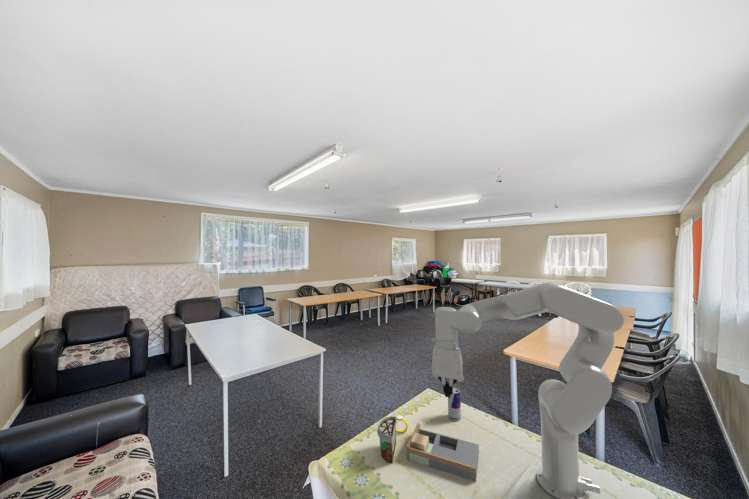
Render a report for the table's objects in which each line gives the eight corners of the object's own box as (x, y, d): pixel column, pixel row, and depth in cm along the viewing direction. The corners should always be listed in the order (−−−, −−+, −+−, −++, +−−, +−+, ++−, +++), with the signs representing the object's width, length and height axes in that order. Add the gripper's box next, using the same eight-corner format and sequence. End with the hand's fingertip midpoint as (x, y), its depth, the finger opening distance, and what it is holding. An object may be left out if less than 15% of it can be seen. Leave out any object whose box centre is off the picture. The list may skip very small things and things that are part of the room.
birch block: (428, 444, 97) (428, 436, 97) (424, 454, 93) (424, 445, 93) (415, 440, 99) (415, 432, 100) (411, 449, 95) (411, 441, 95)
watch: (393, 433, 108) (391, 418, 108) (394, 428, 111) (393, 414, 111) (407, 434, 106) (406, 419, 107) (408, 430, 109) (407, 415, 109)
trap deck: (478, 451, 97) (478, 438, 97) (476, 481, 84) (475, 467, 84) (417, 434, 107) (417, 423, 107) (406, 459, 94) (406, 446, 94)
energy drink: (461, 422, 114) (461, 394, 114) (448, 420, 115) (448, 392, 115) (460, 414, 119) (459, 387, 119) (447, 413, 120) (447, 386, 120)
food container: (380, 439, 104) (380, 414, 104) (396, 441, 103) (396, 415, 103) (374, 464, 92) (374, 435, 92) (392, 466, 91) (391, 437, 91)
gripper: (423, 343, 93) (424, 396, 93) (468, 349, 87) (469, 405, 86) (428, 337, 100) (429, 386, 99) (470, 342, 93) (471, 394, 93)
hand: (448, 395), depth 93 cm, fingers closed
